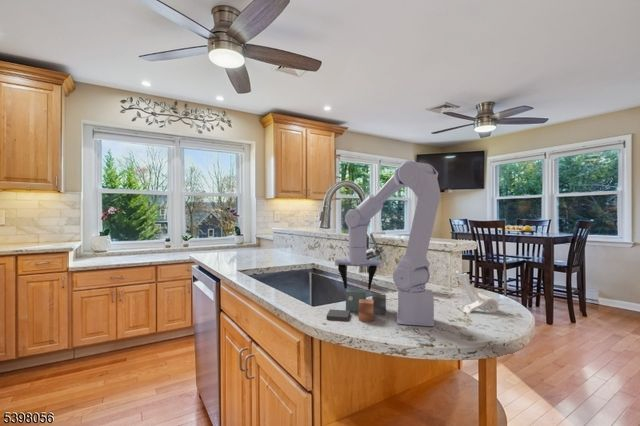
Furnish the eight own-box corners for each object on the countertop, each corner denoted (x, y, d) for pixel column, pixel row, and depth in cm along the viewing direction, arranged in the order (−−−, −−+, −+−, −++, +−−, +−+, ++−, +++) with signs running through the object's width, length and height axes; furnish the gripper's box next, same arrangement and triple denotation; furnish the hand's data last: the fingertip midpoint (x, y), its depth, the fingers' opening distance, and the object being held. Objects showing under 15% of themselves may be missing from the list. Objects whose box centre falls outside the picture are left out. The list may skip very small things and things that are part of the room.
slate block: (385, 310, 99) (385, 294, 99) (385, 314, 95) (385, 298, 95) (372, 309, 99) (372, 293, 99) (372, 314, 95) (372, 297, 95)
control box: (366, 307, 101) (366, 289, 101) (365, 312, 96) (365, 292, 96) (347, 306, 102) (347, 288, 102) (345, 311, 97) (345, 292, 97)
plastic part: (498, 312, 97) (499, 274, 97) (467, 313, 95) (468, 275, 95) (482, 305, 104) (483, 269, 104) (454, 306, 103) (454, 270, 103)
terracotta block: (373, 316, 93) (373, 299, 93) (373, 321, 89) (373, 303, 89) (359, 316, 94) (359, 298, 94) (358, 320, 90) (358, 302, 90)
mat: (349, 313, 95) (349, 310, 95) (347, 320, 89) (347, 317, 89) (330, 312, 96) (330, 309, 96) (326, 319, 91) (326, 315, 91)
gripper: (380, 245, 107) (380, 286, 107) (337, 245, 109) (337, 284, 110) (380, 248, 100) (380, 291, 100) (334, 247, 103) (334, 289, 103)
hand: (357, 288), depth 104 cm, fingers open, 7 cm apart
